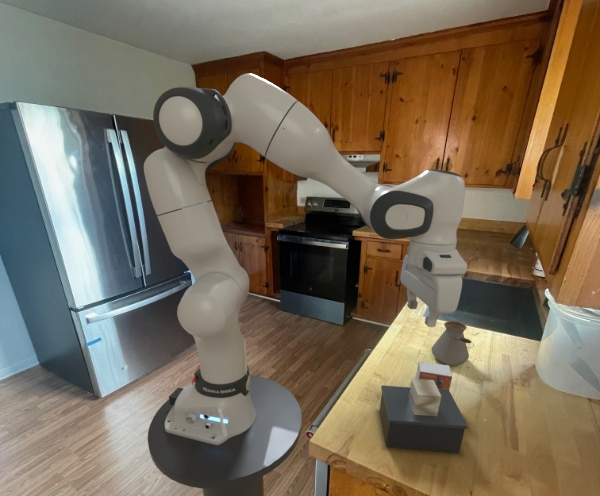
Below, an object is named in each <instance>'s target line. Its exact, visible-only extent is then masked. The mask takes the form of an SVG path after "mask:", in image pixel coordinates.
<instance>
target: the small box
mask: <svg viewBox="0 0 600 496" xmlns="http://www.w3.org/2000/svg"><path fill="white" fill-rule="evenodd" d="M415 379H424V380H434V382H435V384H436V386H437V388H438V389H440V390H449V391H450V388H451V384H452V380H453V374H452V370H451V367H450V365H446V364H440V363H433V362H427V361H422V360H418V363H417V368H416V374H415Z"/></svg>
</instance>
